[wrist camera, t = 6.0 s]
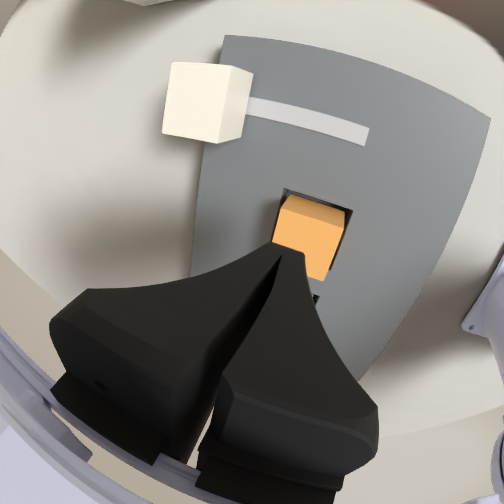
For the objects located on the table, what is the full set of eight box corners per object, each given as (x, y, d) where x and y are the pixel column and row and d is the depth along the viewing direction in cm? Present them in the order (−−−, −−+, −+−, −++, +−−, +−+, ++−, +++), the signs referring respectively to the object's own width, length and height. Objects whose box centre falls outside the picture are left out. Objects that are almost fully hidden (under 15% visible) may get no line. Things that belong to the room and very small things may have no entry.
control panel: (476, 117, 11) (499, 119, 8) (354, 370, 22) (351, 397, 20) (237, 42, 14) (217, 30, 11) (196, 315, 25) (180, 337, 22)
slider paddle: (253, 73, 12) (231, 65, 10) (240, 137, 14) (217, 143, 12) (202, 68, 13) (172, 61, 10) (192, 128, 15) (161, 133, 12)
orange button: (344, 211, 15) (343, 228, 13) (327, 259, 17) (323, 281, 15) (290, 194, 16) (280, 207, 14) (277, 242, 17) (266, 262, 15)
